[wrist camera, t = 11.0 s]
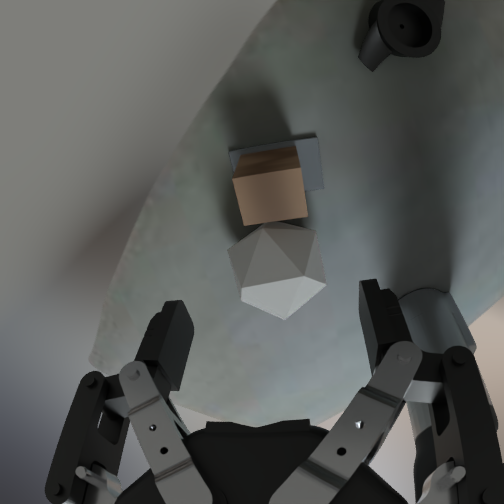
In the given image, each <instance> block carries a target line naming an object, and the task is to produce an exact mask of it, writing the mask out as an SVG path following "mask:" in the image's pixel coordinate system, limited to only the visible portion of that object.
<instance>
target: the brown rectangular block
mask: <svg viewBox="0 0 504 504" xmlns="http://www.w3.org/2000/svg"><path fill="white" fill-rule="evenodd" d="M232 180H233V184H234V188H235V192H236V196H237V200H238V204H239V208H240V212H241V216H242V220H243V223H244V226H247V225H253V224H260V223H267V222H274V221H281V220H288V219H295V218H302V217H308V212H307V205H306V198H305V191H304V185H303V178H302V172H301V166H300V162H299V157H298V153H297V149H296V146H292V147H285V148H279V149H272V150H266V151H260V152H255V153H249V154H244V155H240V158H239V161H238V164H237V166H236V169H235V172H234V175H233V178H232Z"/></svg>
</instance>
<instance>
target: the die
mask: <svg viewBox="0 0 504 504" xmlns="http://www.w3.org/2000/svg"><path fill="white" fill-rule="evenodd" d="M227 251H228V254H229V258H230V262H231V265H232V269H233V273H234V276H235V280H236V284H237V287H238V291H239V294H240V298H241V301H243V302H245V303H248V304H250V305H252V306H254V307H257V308H259V309H261V310H263V311H266V312H268V313H270V314H272V315H275V316H277V317H279V318H282V319H284V320H285V319H287V318H288V317H289V316H290V315H292V314H293V313H294V312H295V311H296V310H298V309H299V308H300V307H301V306H302V305H304V304H305V303H306V302H307V301H308V300H310V299H311V298H312V297H313V296H314V295H315V294H317V293H318V292H319V291H320V290H321V289H322V288H324V287H325V286H326V285H327V283H326V278H325V272H324V267H323V262H322V257H321V252H320V248H319V243H318V238H317V233H316V231H315V230H311V229H307V228H303V227H299V226H294V225H290V224H286V223H282V222H278V221H274V222H267V223H264V224H263V225H261V226H260V227H259V228H257V229H256V230H254V231H253V232H252V233H250V234H249V235H247V236H246V237H245V238H243V239H242V240H240V241H239V242H238V243H236V244H235V245H233V246H232V247H231V248H229V249H228V250H227Z"/></svg>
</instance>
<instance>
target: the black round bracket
mask: <svg viewBox="0 0 504 504" xmlns="http://www.w3.org/2000/svg"><path fill="white" fill-rule="evenodd" d="M444 5H445V1H444V0H381V1H379V2H377V3H376V4H375V5H374V6H373V8H372V9H371V11H370V14H369V20H368V22H369V29H370V30H369V32H368V33H367V35H366V38H365V40H364V42H363V45H362V48H361V50H360V53H359V56H358V58H359V59H360V60H361V61H362V63H363V64H364V65H365V66H366V67H367V68H369V69H370V70H371V71H372V72H373V71H374V70H375V69H376V68H377V67H378V65H379V64H380V63H381V62H382V61H383V60H384V59H385V58H386V57H388V56H389V55H390V54H393V55H396V56H400V57H424V56H427V55H429V54H431V53H432V52H433V51H434V50H435V49H436V48H437V47H438V45H439V42H440V39H441V25H442V20H443V13H444ZM400 25H401V27H402V28H400Z"/></svg>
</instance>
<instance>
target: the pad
mask: <svg viewBox="0 0 504 504" xmlns="http://www.w3.org/2000/svg"><path fill="white" fill-rule="evenodd" d="M292 146H296V149H297V153H298V157H299V162H300V166H301V172H302V178H303V185H304V191H311V190H318V189H324V182H323V174H322V166H321V159H320V152H319V145H318V138H317V137H310V138H303V139H296V140H290V141H283V142H277V143H271V144H265V145H259V146H253V147H248V148H243V149H237V150H232V151H229V156H230V160H231V164H232V168H233V172H235V169H236V166H237V164H238V161H239V158H240V155H244V154H249V153H255V152H260V151H266V150H272V149H279V148H285V147H292Z"/></svg>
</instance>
